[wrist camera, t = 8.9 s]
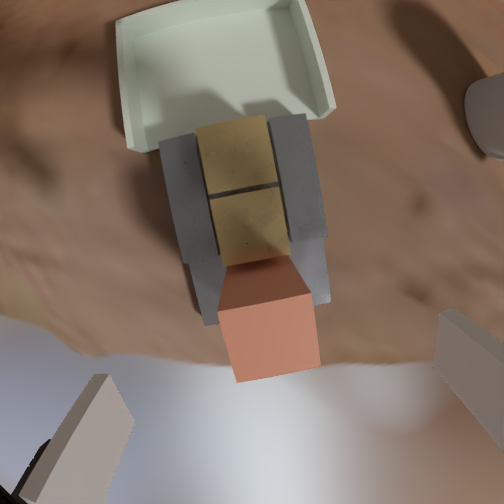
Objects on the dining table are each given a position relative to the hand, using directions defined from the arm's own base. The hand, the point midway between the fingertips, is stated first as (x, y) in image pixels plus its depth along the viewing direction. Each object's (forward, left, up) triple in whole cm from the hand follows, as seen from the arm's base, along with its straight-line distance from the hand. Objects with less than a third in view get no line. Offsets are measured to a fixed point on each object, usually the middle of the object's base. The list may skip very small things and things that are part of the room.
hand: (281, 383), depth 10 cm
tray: (-17, 0, -14) cm, 21 cm away
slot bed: (-4, 0, -14) cm, 14 cm away
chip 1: (-9, 0, -12) cm, 15 cm away
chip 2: (-5, 0, -12) cm, 13 cm away
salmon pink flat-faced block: (0, 0, -12) cm, 12 cm away
